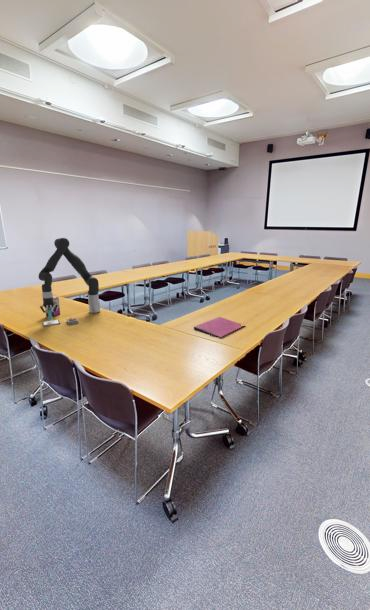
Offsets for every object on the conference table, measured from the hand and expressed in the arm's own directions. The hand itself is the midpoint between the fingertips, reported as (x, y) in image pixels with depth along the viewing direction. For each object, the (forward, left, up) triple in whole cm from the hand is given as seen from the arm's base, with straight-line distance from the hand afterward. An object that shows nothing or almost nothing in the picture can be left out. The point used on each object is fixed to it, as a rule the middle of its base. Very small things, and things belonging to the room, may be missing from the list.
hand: (50, 316), depth 239 cm
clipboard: (0, 0, -6) cm, 6 cm away
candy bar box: (-4, -21, -6) cm, 22 cm away
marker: (0, 0, -2) cm, 2 cm away
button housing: (-16, +6, -6) cm, 18 cm away
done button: (-16, +6, -5) cm, 18 cm away
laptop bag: (-119, +74, -7) cm, 140 cm away
